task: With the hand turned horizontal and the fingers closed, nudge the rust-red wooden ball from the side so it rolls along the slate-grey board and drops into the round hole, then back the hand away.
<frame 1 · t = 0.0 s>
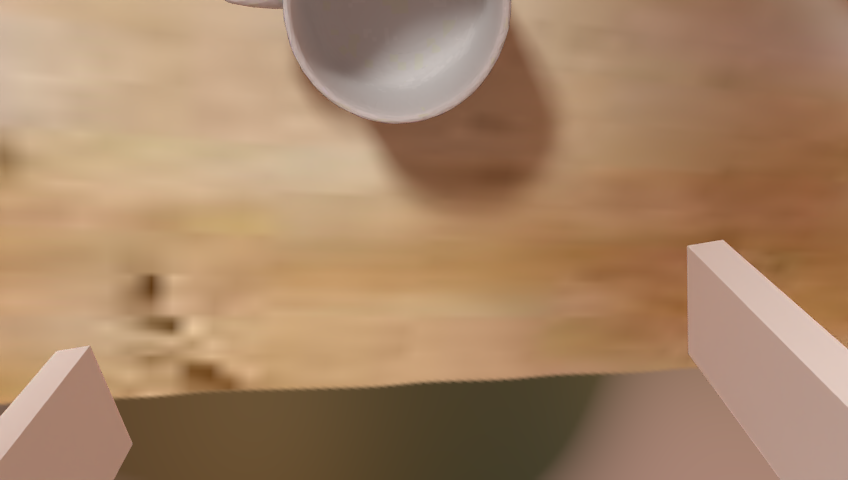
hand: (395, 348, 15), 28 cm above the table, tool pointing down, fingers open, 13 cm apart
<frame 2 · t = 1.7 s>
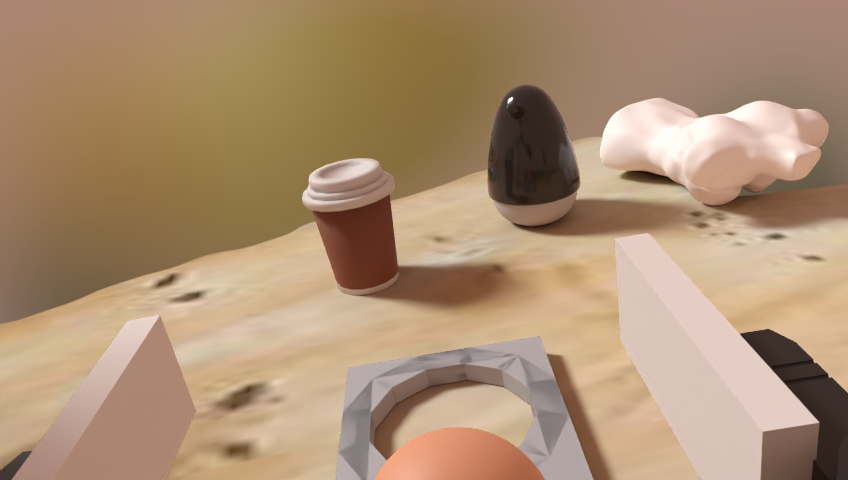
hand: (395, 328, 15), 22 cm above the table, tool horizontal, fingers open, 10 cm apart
black egg shaped figurine: (536, 219, 76), on the table
coffee cup: (369, 281, 69), on the table
torso sculpture: (709, 191, 76), on the table
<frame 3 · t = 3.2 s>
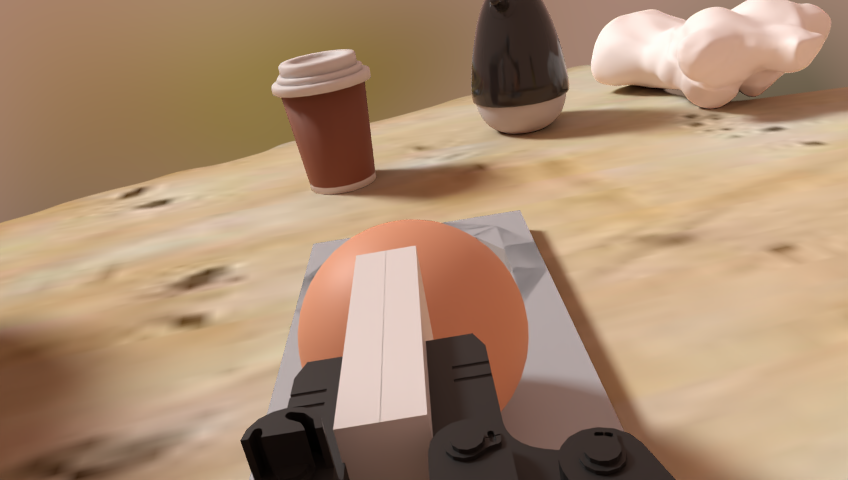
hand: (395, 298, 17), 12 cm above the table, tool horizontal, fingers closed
ball: (413, 333, 26), point 6 cm above the table, touching board
black egg shaped figurine: (523, 128, 72), on the table
coffee cup: (344, 183, 65), on the table
board: (428, 353, 36), on the table
torso sculpture: (705, 99, 72), on the table
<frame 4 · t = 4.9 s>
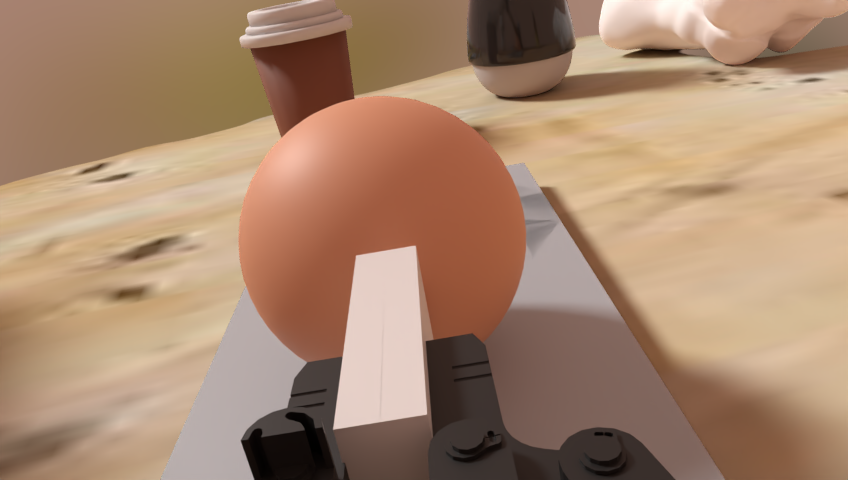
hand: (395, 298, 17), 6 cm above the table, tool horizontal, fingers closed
ball: (384, 240, 21), point 6 cm above the table, tilted 32°, touching board
black egg shaped figurine: (525, 93, 65), on the table
coffee cup: (325, 151, 58), on the table
board: (413, 321, 28), on the table
torso sculpture: (728, 57, 65), on the table
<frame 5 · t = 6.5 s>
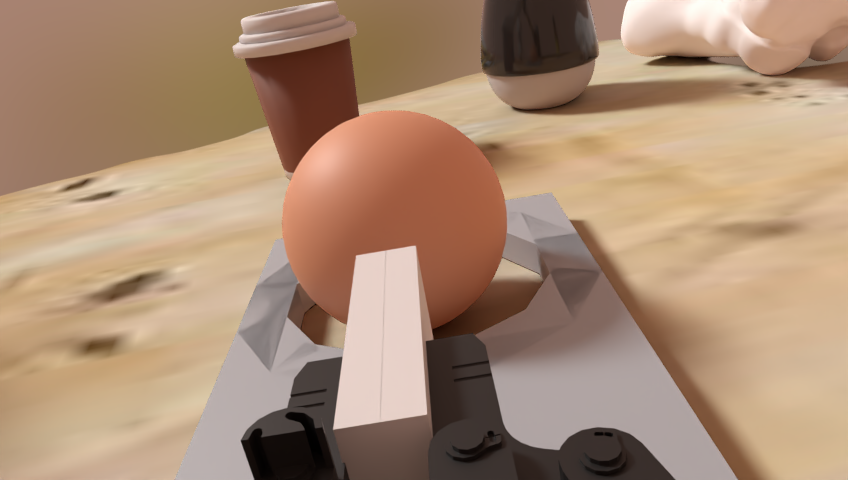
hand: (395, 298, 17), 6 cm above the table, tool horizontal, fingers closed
ball: (395, 223, 27), point 4 cm above the table, tilted 176°
black egg shaped figurine: (543, 104, 60), on the table
coffee cup: (326, 169, 53), on the table
board: (429, 399, 23), on the table
torso sculpture: (763, 66, 60), on the table
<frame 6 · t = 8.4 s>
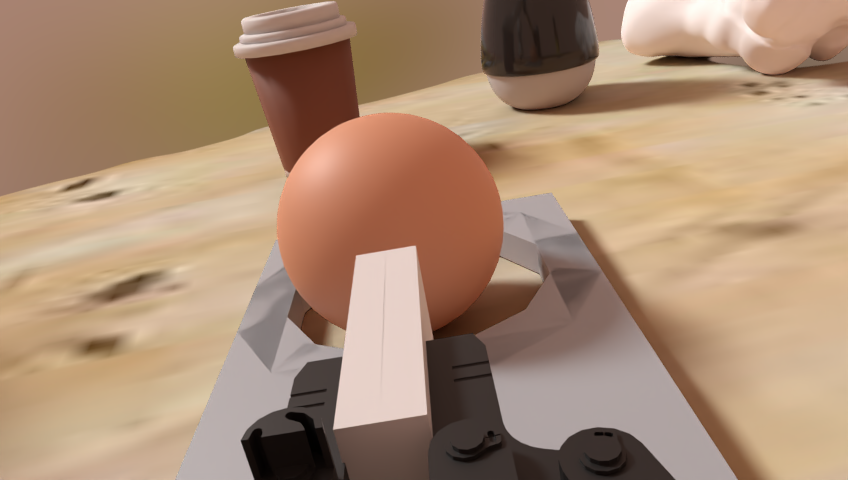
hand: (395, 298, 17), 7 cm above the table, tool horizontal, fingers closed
ball: (391, 226, 27), point 4 cm above the table, tilted 173°
black egg shaped figurine: (543, 104, 60), on the table
coffee cup: (326, 169, 53), on the table
board: (429, 399, 23), on the table
torso sculpture: (763, 66, 60), on the table
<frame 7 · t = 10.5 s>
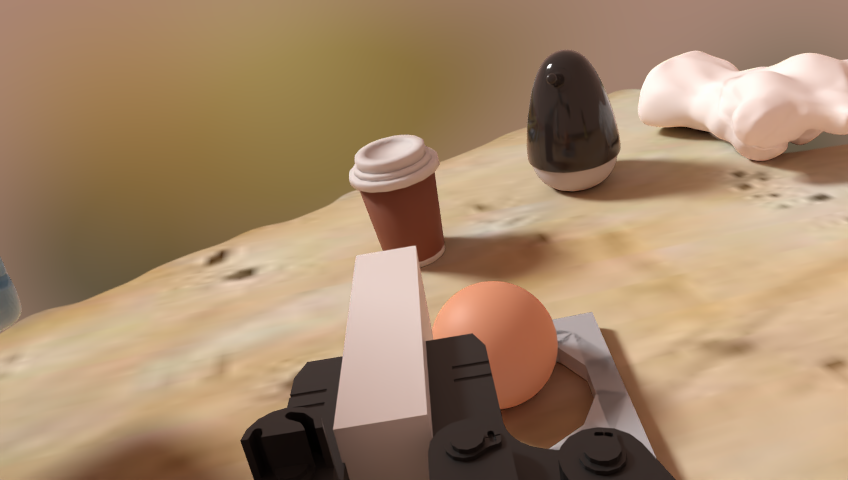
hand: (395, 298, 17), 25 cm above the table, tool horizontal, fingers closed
ball: (493, 344, 48), point 4 cm above the table, tilted 148°
black egg shaped figurine: (576, 183, 77), on the table
coffee cup: (416, 254, 71), on the table
torso sculpture: (752, 145, 76), on the table
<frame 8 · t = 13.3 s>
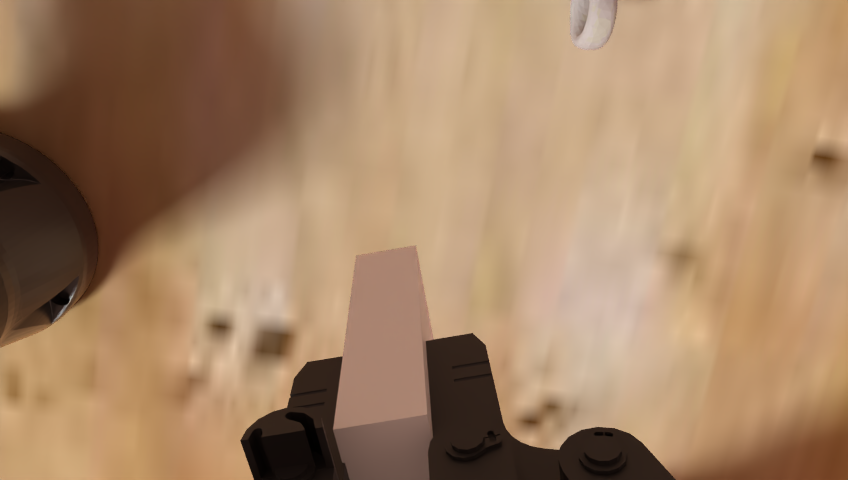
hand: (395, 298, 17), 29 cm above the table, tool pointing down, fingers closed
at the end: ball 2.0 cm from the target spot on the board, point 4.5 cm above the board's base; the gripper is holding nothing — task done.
